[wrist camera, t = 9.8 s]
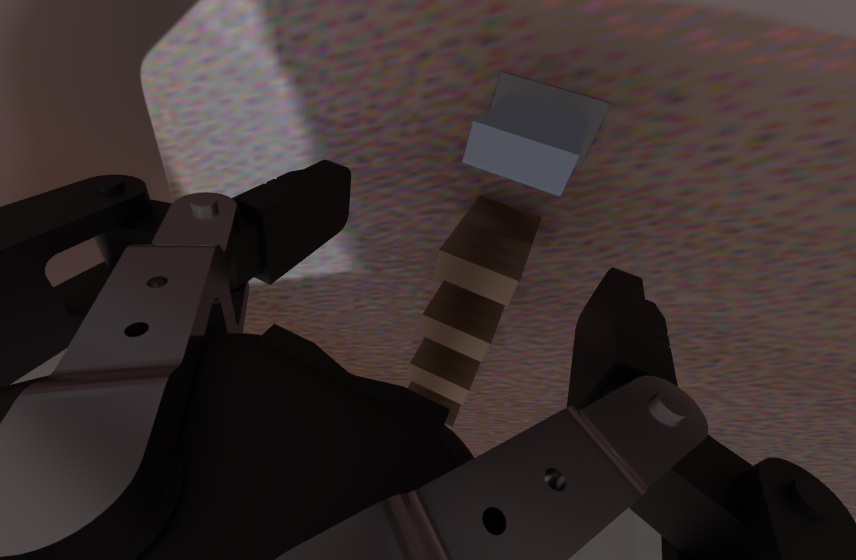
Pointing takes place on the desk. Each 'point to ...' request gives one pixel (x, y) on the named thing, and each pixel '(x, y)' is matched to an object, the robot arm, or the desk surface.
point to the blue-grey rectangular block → (527, 142)
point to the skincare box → (623, 541)
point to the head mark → (556, 103)
